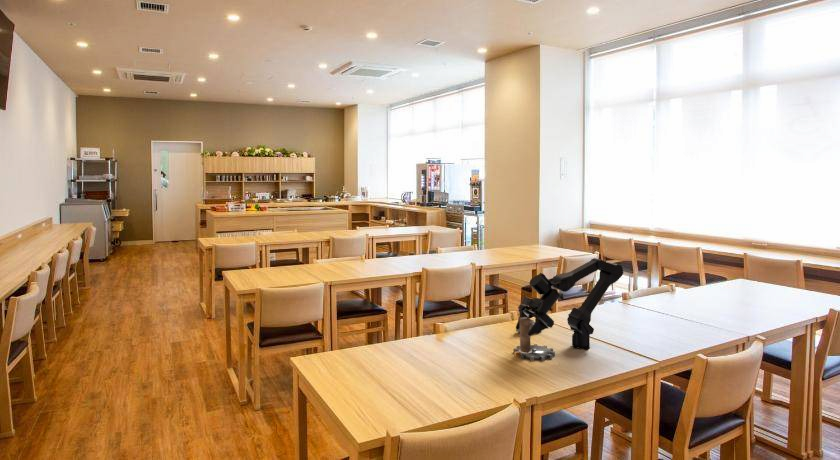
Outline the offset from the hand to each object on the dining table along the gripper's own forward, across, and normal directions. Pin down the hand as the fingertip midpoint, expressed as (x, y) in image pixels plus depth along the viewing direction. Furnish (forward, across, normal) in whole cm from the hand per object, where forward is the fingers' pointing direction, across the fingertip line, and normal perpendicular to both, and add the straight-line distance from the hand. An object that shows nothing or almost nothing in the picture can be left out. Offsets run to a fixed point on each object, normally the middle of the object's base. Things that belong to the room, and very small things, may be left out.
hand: (522, 331), depth 209 cm
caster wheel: (-7, -27, +21) cm, 35 cm away
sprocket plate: (+3, 0, +10) cm, 11 cm away
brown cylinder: (+4, 0, +6) cm, 8 cm away
